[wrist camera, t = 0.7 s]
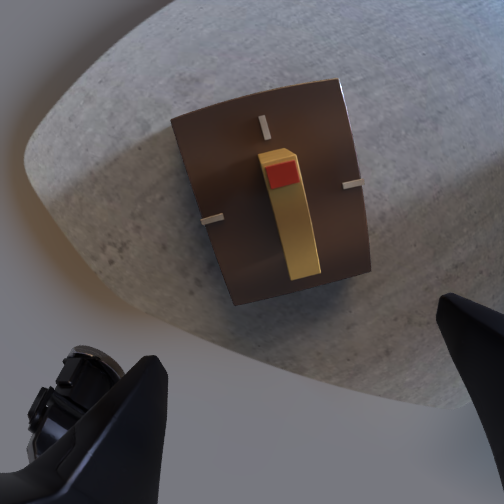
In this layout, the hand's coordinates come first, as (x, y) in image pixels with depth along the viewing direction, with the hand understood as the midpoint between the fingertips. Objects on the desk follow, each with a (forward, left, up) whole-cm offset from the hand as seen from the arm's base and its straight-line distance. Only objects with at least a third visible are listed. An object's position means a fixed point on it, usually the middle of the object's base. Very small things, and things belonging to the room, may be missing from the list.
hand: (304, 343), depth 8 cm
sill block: (+1, -1, -13) cm, 13 cm away
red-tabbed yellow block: (+1, -1, -10) cm, 10 cm away
